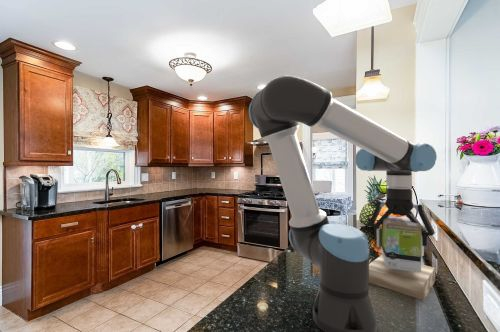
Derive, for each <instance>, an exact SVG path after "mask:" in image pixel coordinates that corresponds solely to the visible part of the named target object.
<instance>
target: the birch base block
mask: <svg viewBox="0 0 500 332" xmlns="http://www.w3.org/2000/svg"><path fill="white" fill-rule="evenodd" d="M435 282H436V268H435V267H432V266H429V265H426V264H425V265H424V264H421V272H412V271H405V270H398V269H392V268H386V266H385V263H384V260H383V256H382V254H381V255H380V256H378V257H377V258H375V259H374V260H372V261H371V262H369V284H371V285H376V286H378V287H381V288H382V287H383V288H385V289H387V290H388V289H389V290H391V291H394V292H398V293H401V294H404V295H406V296H410V297H413V298H415V299H419V300H422V301H425V299H426V297H427V296H428V295H429V292H430V291H431V289H432V288H433V286H434V284H435Z"/></svg>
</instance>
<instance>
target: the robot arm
mask: <svg viewBox="0 0 500 332" xmlns="http://www.w3.org/2000/svg"><path fill="white" fill-rule="evenodd" d="M248 116H249V120H250V121H251V123H252V125H253V126H254V127H255V128H257V129H258V132H259V135H260V138H261V140H263V141H265V142H266V143H268V147H269V149H270V152H271V153H270V154H271V156H272V159H273V161H274V165H275V168H276V171H277V175H278V178H279V180H280V184H281V187H282V189H283V193H284V196H285V199H286V202H287V205H288V208H289V211H290V214H291V218H290V219H289V221H288V224H289V227H290V229H289V231H288V239H289V242H290V245H291V247H292V248H293V250H294V251H295V252H296V253H297V254H299V255H300V256H301V257H303V258H305V259H306V261H308V262H309V263H310V262H311V263H312V264H313V265H314V266H316V267H317V268H318V269H319V271H318V272H319V286H318V287H319V288H318V291H317V293H316V297H315V300H314V302H313V306H312V319H313V322H314V324H315V326H316V327H317V326H318V327H319V328H320V329H321V330H320V329H319V328H318V327H317V328H318V329H319V330H320V331H322V330H323V331H324V332H378V319H377V316H376V313H375V310H374V306H373V304H372V301H371V297H370V295H369V294H370V292H369V291H370V289H369V287H370V285H369V284H370V283H369V264H370V247H369V240H368V238H367V235H366V234H365V233H364V232H363V231H362V230H361V229H358V228H356V227H354V226H352V225H345V224H342V223H330V221H329V218H328V215H327V213H326V212H325V211H324V210H322V209H321V208H320V207H319V204H318V201H317V197H316V194H315V191H314V186H313V184H312V182H311V178H310V177H311V176H310V174H309V172H308V169H307V166H306V165H307V164H306V162H305V159H304V155H303V151H302V149H301V145H300V143H299V139H298V136H297V133H298V130H299V128H300V124H303V125H305V126H307V127H312V128H313V127H315V126H316V127H318V128H320V129H323V130H324V131H326V132H329V134H332V135H334V136H336V137H338V138H341V139H342V140H344V141H346V142H348V143H350V144H352V145H354V146H356V147H358V148H360V149H358V151H357V152H356V154H355V157H354V158H355V161H354V162H355V165H356V167H357V168H358V169H359V170H360V171H367V172H373V171H374V172H375V171H376V172H377V171H378V172H379V171H380V172H382V171H383V172H385V173H386V177H385V178H386V180H385V181H386V183H385V185H386V187H387V188H386V190H385V191H386V192H385V194H386V199H385V200H386V201H385V200H382V199H380V200H377V201H376V207H375V209H374V211H373V213H372V214H371V217H370V219H369V221H368V226H370V227H373V236H374V237H375V238H376V248H380V247H381V246H382V228H381V224H382V223H383V220H384V219H385V218H388V217H389V216H400V217H407V218H409V219H410V221H411V222H414V223H418V224H419V225H421V258H423V256H424V255H425V247H426V248H427V246H428V244H429V239H428V237H429V236H431V237H432V236H434V235H435V233H436V232H435V230H434V229H435V228H434V227H433V225H432V224H431V222H430V220H429V219H430V218H428V216H427V213H426V212H425V206H424V204H423V203H420V204H414V203H413V189H412V187H413V173H412V172H414V173H418V172H427V171H430V170H431V169H433V168H434V166H435V165H436V161H437V157H438V156H437V152H436V149H435V148H434V146H433V145H431V144H430V143H427V142H426V143H421V142H418V143H413V142H411V141H409V140H407V139H405V138H404V137H402V136H400V135H398V134H396V133H394V132H393V131H391V130H389V129H388V128H386V127H384V126H382V125H380V124H379V123H377V122H375V121H374V120H372V119H370V118H369V117H367V116H365V115H363V114H361V113H360V112H358V111H356V110H354V109H352V108H350V107H349V106H347V105H345V104H344V103H342V102H340V101H338V100H337V99H334V98H333V94H332V92H331V91H330V90H328V89H327V88H325V87H323V86H321V85H319V84H317V83H315V82H313V81H310V80H308V79H305V78H302V77H299V76H294V75H280V76H277V77H275V78H273V79H271V80H270V81H269V82H268V83H267V84H266V86H264V87H263V88H261V90H259V91H258V92H257V93H256V94H255V95H254V96H253V98H252V99H251V102H250V103H249V107H248ZM299 123H300V124H299ZM384 206H385V207H386V208H387V210H386V211H385V212H384V213H383V214H382V215H383V216H382V215H381V217H379V219H378V216H379V215H380V213H381V210H383V209H382V208H383V207H384ZM413 209H414V210H416V212H417V213H418V215H419V217H420V220H421V221H422V224H423V225H424V226H423V225H422V224H421V222H420V221H419V219H417V217H416V216H415V215H414V213H413V212H412V210H413ZM391 214H392V215H391ZM377 219H378V220H377ZM376 220H377V221H376ZM323 331H322V332H323Z"/></svg>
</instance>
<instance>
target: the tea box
mask: <svg viewBox="0 0 500 332" xmlns="http://www.w3.org/2000/svg"><path fill="white" fill-rule="evenodd" d="M383 215H384V214H382V215H381V217H382V216H383ZM421 225H422V224H421ZM421 225H419V224H418V223H414V222H411V221H410V219H409V218H407V216H398V215H390V216H389V217H388V218H385V219H384V220H383V223H382V224H381V225H380V228H382V246H380V247H381V248H380V253H381V255H382V256H383V260H384V263H385V266H386V268H392V269H398V270H405V271H412V272H421V265H422V257H421Z"/></svg>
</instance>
